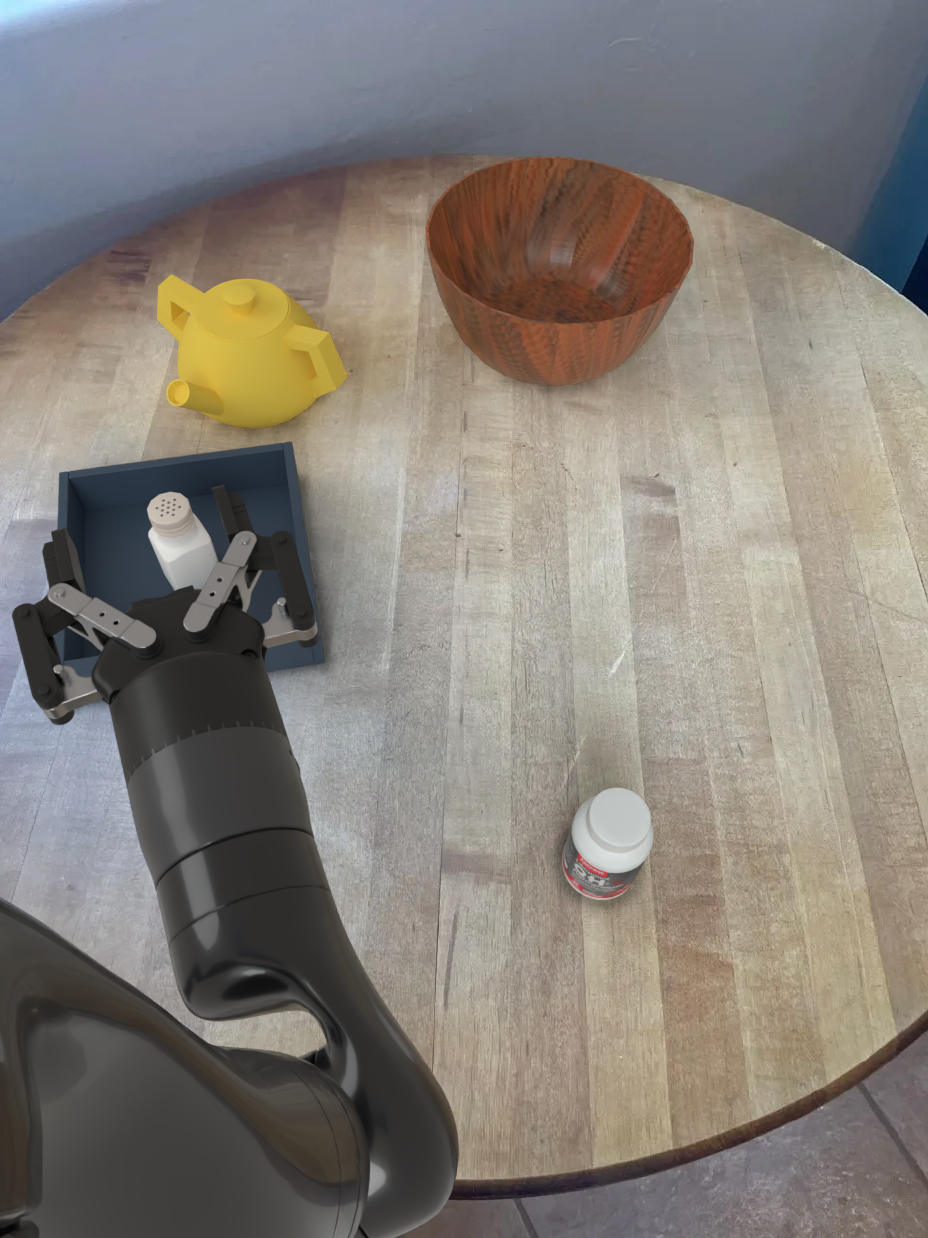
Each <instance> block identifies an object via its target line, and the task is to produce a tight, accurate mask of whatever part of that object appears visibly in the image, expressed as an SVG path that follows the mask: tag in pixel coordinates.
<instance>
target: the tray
mask: <svg viewBox="0 0 928 1238" xmlns="http://www.w3.org/2000/svg"><path fill="white" fill-rule="evenodd" d="M221 485H224V486H225V489H226V491H227V494H228V493H232V492H235V491H236V492H237V493H238V494H239V495H240V496H241V497H242V499H243V501H244V504H245V507H246V510H247V513H248V516H249V519H250V522H251V525H252V528H253V530H254V532H255V533H256V534H258V535H260V536H265V537H271V536H272V535H273V534H274V533H275V532H278V531H287V532H289V533H291V534H292V536H293V539H294V543H295V546H296V550H297V553H298V557H299V560H300V564H301V567H302V571H303V574H304V578H305V581H306V585H307V588H308V592H309V595H310V599H311V602H312V606H313V609H314V614H315V619H316V624H317V629H318V634H319V641H318V642H317V644H316V645H315V646H313V647H310V648H303V647H301V646H299V645H298V644H297V642H296V641H293V642H289V643H285V644H281V645H277V646H273V647H269V648H267V652H266V655H265V667H266V670H267V673H271V672H277V671H284V670H290V669H296V668H297V669H298V668H302V667H308V666H315V665H320V664H325V663H326V658H325V651H324V644H323V637H322V631H321V623H320V616H319V609H318V601H317V596H316V595H317V594H316V587H315V581H314V575H313V567H312V566H313V565H312V561H311V553H310V546H309V539H308V533H307V525H306V517H305V511H304V504H303V497H302V490H301V483H300V476H299V471H298V467H297V461H296V456H295V451H294V445H293V441H285V442H278V443H270V444H264V445H263V444H262V445H255V446H246V447H241V448H239V447H238V448H231V449H225V450H218V451H209V452H202V453H201V452H200V453H195V454H186V455H179V456H170V457H163V458H157V459H150V460H142V461H134V462H126V463H118V464H113V465H105V466H98V467H97V466H95V467H90V468H89V467H88V468H82V469H74V470H69V471H67V470H66V471H60V472H59V473H58V493H57V494H58V495H57V497H58V498H57V524H56V525H57V528H56V530H58V529H61V528H66V530H67V532H68V534H69V536H70V538H71V539H72V541H73V543H74V545H75V548H76V550H77V554H78V558H79V562H80V567H81V571H82V576H83V581H84V585H85V590H86V594H87V596H88V597H90V598H92V599H93V598H94V597H96V598H98V599H100V600H102V601H103V602H105V603H107V604H108V605H110V606H112V607H114V608H115V609H117V610H119V611H120V612H122V613H125V612H126V611H127V610H129V609H130V608H132V604H131V603H133V602H136V601H139V600H143V599H146V598H159V597H164V596H166V595H168V594H170V593H172V592H174V591H175V590H174V589H173V587H172V586H171V584H170V583H169V581H168V579H167V578H166V576H165V575H164V572H163V570H162V568H161V565H160V563H159V560H158V558H157V556H156V553H155V551H154V549H153V546H152V544H151V542H150V539H149V537H148V533H149V531H150V529H151V528H152V527H153V526H152V524H151V522H150V519H149V516H148V512H147V508H148V506H149V504H150V502H151V500H153V499H154V498H155V497H157V496H158V495H159V494H163V493H167V492H175V493H181V494H182V495H183V496H184V497H186V498H187V499H188V501H189V504H190V507H191V509H192V512H193V513H194V514H195V516H196V517H197V518H198V519H199V521H200V522H201V524H202V525H203V527H204V528H205V530H206V531H207V533H208V534H209V536H210V538H211V541H212V544H213V547H214V550H215V553H216V556H217V559H218V561H219V562H221V561H222V560H223V558H224V556H225V554H226V552H227V550H228V548H229V546H230V544H229V541H228V537H227V534H226V531H225V528H224V525H223V522H222V519H221V516H220V513H219V510H218V506H217V503H216V500H215V497H214V494H213V490H212V488H214V487H218V486H221ZM281 597H284V594H283V590H282V587H281V583H280V579H279V575H278V572H277V570H262V572H261V574H260V576H259V578H258V580H257V582H256V584H255V586H254V588H253V591H252V593H251V600H250V604H249V607H248V609H247V611H246V613H248V614H249V615H251V616H253V617H254V618H256V619H257V620H258V621H259V622H260V623H261V624H263V623H265V622H267V621H268V620H269V619H270V618H271V616H272V607H273V605H274V604H275V603H276V602H277V600H278V599H279V598H281ZM54 638H55V642H56V645H57V649H58V653H59V656H60V660H61V664H62V666H64V665H67V666H71V667H72V668H74V670H75V671H76V673H77V674H78V675H79V676H81V677H90V676H91V672H92V669H93V667H94V665H95V663H96V661H97V659H98V657H99V655H100V654H101V652H102V651H101V650H99V649H98V648H97V647H96V646H95V645H94V644H93V643H92V642H91V641H89V640H88V639H86V638H84V637H83V636H81V635H79V634H78V633H76V632H74V631H73V630H71V629H69V628H68V627H67V628H65V629H63V630H62V631H60V632H58V633H57V634H55V635H54Z"/></svg>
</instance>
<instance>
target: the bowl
mask: <svg viewBox="0 0 928 1238" xmlns="http://www.w3.org/2000/svg"><path fill="white" fill-rule="evenodd" d="M424 230H425V238H426V249H427V256H428V259H429V263H430V268H431V272H432V276H433V278H434V282H435V285H436V289H437V292H438V294H439V297H440V300H441V303H442V305H443V307H444V309H445V311H446V314H447V315H448V316H449V319H450V321H451V323H452V325H453V327H454V329H455V330H456V332H457V334H458V336H459V338H460V339H461V341H462V342H463V343H464V345H465V346H466V347H467V348H468V349H469V350H470V351H471V352H472V353H473V354H474V355H475V356H476V357H477V359H479V360H480V361H481V362H482V363H484V365H486V366H488V367H490V368H491V369H493V370H495V371H496V372H498V373H500V374H501V375H504V376H506V377H508V378H512V379H515V380H518V381H520V382H523V383H526V384H533V385H540V386H546V387H547V386H548V387H549V386H550V387H551V386H573V385H576V384H579V383H580V384H581V383H584V382H589V381H592V380H596V379H598V378H600V377H602V376H604V375H606V374H608V373H610V372H612V371H614V370H615V369H618V368H619V367H621V366H622V365H623V364H624V363H625V362H626V361H628V360H629V359H630V358H631V357H632V356H633V355H634V354H636V352H637V351H639V350H640V349H641V348H642V347H643V346H644V345H645V344H646V343H647V341H648V340H649V339H650V338H651V337H652V335H653V334H654V333H655V331H656V330H657V328H658V327H659V326H660V324H661V323H662V322H663V319H664V318H665V316H666V314H667V313H668V311H669V309H670V308H671V306H672V304H673V302H674V300H675V298H676V297H677V294H678V293H679V291H680V289H681V287H682V286H683V283H684V282H685V279H686V278H687V275H688V274H689V272H690V270H691V267H692V266H693V261H694V249H695V240H694V237H693V233H692V231H691V227H690V223H689V221H688V219H687V217H686V216H685V214H683V212H682V211H681V209H680V208H679V207H678V206H677V204H676V203H675V202H674V200H673V199H672V198H670V197H669V196H668V195H667V194H665V193H664V192H663V191H661V190H660V189H659V188H658V187H656V186H655V185H653V184H652V183H651V182H649V181H647V180H646V179H644V178H641V177H640V176H637V175H636V174H634V173H631V172H629V171H627V170H625V169H623V168H620V167H616V166H613V165H609V164H606V163H602V162H599V161H596V160H592V159H587V158H586V159H585V158H577V157H571V156H570V157H569V156H561V155H549V156H523V157H519V158H514V159H510V160H504V161H503V160H502V161H499V162H495V163H492V164H490V165H487V166H484V167H482V168H479V169H477V170H473V171H472V172H469V173H468V174H466V175H465V176H463V177H462V178H460V179H459V180H457V181H456V182H454V183H453V184H451V185H450V186H448V187H447V188H446V189H445V191H443V193H442V194H441V195H440V197H439V198H438V199H437V200H436V202H435V203H434V204H433V205H432V206H431V209H430V213H429V216H428V218H427V221H426V224H425V228H424Z"/></svg>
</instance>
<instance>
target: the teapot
mask: <svg viewBox="0 0 928 1238" xmlns="http://www.w3.org/2000/svg"><path fill="white" fill-rule="evenodd" d="M156 306H157V307H156V308H157V310H156V320H157V321H158V322H159V323H160V324H161V325H162V327H164V328H165V329H166V331H168V333H169V334H170V335H171V336H172V337H173V338H174V339H175V340H176V341H177V342H178V347H177V359H176V360H177V362H176V363H177V364H176V365H177V376H178V378H175V379H173V380H172V381H170V383H169V384H168V385H167V387H166V391H165V396H166V399H167V401H168V402H169V404H170V405H172V406H175V407H177V408H182V409H185V410H186V409H187V410H191V411H196V412H200V413H201V414H203V415H204V416H206V417H208V418H210V419H212V420H214V421H217V422H219V423H221V424H226V425H229V426H232V427H235V428H236V427H237V428H241V429H242V428H243V429H264V428H270V427H274V426H278V425H282V424H284V423H286V422H288V421H290V420H293V419H295V418H296V417H297V416H299V415H300V414H302V413H304V411H305V410H307V409H308V408H310V406H311V405H312V404H313V403H315V401H316V400H317V399H318V398H319V397H321V396H324V395H327V394H329V393H331V392H334V391H336V390H338V388H339V387H340V386H341V385H342V384H343V383H344V382H345V381H346V379H347V378H348V376H349V375H348V373H347V371H346V369H345V366H344V364H343V362H342V361H343V360H342V359H341V357H340V354H339V352H338V349H337V348H336V345H335V343H334V340H333V337H332V336H331V333H330V331H329V332H328V331H325V330H321V329H320V328H319V326H318V325H317V323H316V322H315V320H314V319H313V318H312V317H311V315H310V314H309V312H308V311H306V309H305V308H304V307H303V306H301V305H300V304H299V303H298V302H297V301H296V300H295V299H294V298H293V297H292V296H291V295H290V294H288V292H286V291H284V290H283V289H281V287H279V286H277V285H275V284H273V283H271V282H268V281H266V280H262V279H257V278H237V279H230V280H227V281H224V282H221V283H219V284H217V285H215V286H213V287H211V288H210V289H209V290H207V291H206V292H203V291H201V290H200V289H198V288H197V287H195V286H194V285H192V284H190V283H188V282H186V281H184V280H183V279H182V278H179V277H177V276H176V275H174V274H172V273H171V274H170V275H169V276H167V278H165V279H164V280H163V281H162V282H161V283H160V284H159V285H158V286H157V305H156Z"/></svg>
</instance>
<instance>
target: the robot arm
mask: <svg viewBox="0 0 928 1238" xmlns="http://www.w3.org/2000/svg"><path fill="white" fill-rule="evenodd" d="M212 490H213V494H214V497H215V500H216V503H217V506H218V510H219V513H220V516H221V519H222V522H223V525H224V528H225V531H226V534H227V537H228V541H229V544H230V546H229V548H228V550H227V552H226V554H225V556H224V558H223V560H222V561H221V562H219V561H218V562H217V563H216V564H215V566H214V568H213V569H212V571H211V573H210V575H209V577H208V579H207V581H206V583H205V585H204V587H203V589H194V587H193V585H191V586H187V587H184V588H180V589H177V590H175V591H174V592H172V593H170V594H168V595H166V596H164V597H159V598H146V599H143V600H139V601H136V602H133V603H131V604H132V608H130V609H129V610H127V611H126V612H125V613H122V612H120V611H119V610H117V609H115V608H114V607H112V606H110V605H108V604H107V603H105V602H103V601H102V600H100V599H98V598H96V597H94V598H93V599H92V598H90V597H88V596H87V594H86V590H85V585H84V581H83V576H82V571H81V567H80V562H79V558H78V554H77V550H76V548H75V545H74V543H73V541H72V539H71V538H70V536H69V534H68V532H67V530H66V528H61V529H58V530H57V529H54V530H51V531H50V534H51V540H52V541H51V540H50V541H48V542H45V543H44V544H43V547H42V550H41V553H42V554H41V555H42V559H43V564H44V568H45V569H44V570H45V574H46V578H47V579H46V580H47V585H48V591H47V593H46V595H45V596H44V597H43V598H41V600H38V601H37V602H35V603H34V604H33V603H30V602H24V603H21V604H19V605H18V606H16V607H15V608H14V609H13V610H12V613H11V617H12V623H13V626H14V630H15V634H16V638H17V643H18V646H19V650H20V654H21V658H22V662H23V666H24V669H25V670H24V671H25V674H26V677H27V681H28V686H29V689H30V694H31V697H32V699H33V700H34V701H35V703H36V705H38V707H39V708H40V710H41V711H42V712H43V714H44V715H45V716H46V717H47V718H48V720H49V721H50V722H51V723H52V724H53V725H55V726H64V725H66V724H68V723H70V722H71V721H72V720H73V719H74V716H75V710H77V709H80V708H83V707H85V706H89V705H91V704H94V703H96V702H97V703H98V702H99V701H103V702H104V703H106V705H107V706H108V709H109V713H110V717H111V723H112V727H113V732H114V736H115V741H116V744H117V745H116V746H117V749H118V754H119V759H120V763H121V768H122V772H123V778H124V782H125V787H126V791H127V795H128V800H129V805H130V808H131V814H132V818H133V823H134V827H135V831H136V832H135V833H136V836H137V839H138V844H139V848H140V851H141V853H142V857H143V858H144V861H145V864H146V866H147V869H148V871H149V873H150V874H149V875H150V877H151V879H152V882H153V886H154V889H155V892H156V898H157V901H158V906H159V911H160V916H161V920H162V924H163V925H162V926H163V930H164V933H165V937H166V943H167V947H168V951H169V952H168V954H169V957H170V962H171V967H172V972H173V975H174V979H175V983H176V987H177V990H178V993H179V996H180V998H181V1001H182V1002H183V1004H184V1006H185V1008H186V1009H187V1011H189V1013H190V1014H192V1015H193V1016H195V1017H196V1018H198V1019H200V1020H204V1021H208V1022H216V1023H217V1022H219V1023H222V1022H231V1021H232V1022H233V1021H241V1020H246V1019H252V1018H257V1017H262V1016H266V1015H271V1014H278V1013H285V1012H305V1013H308V1014H309V1015H310V1016H311V1017H313V1018H314V1020H315V1021H316V1022H317V1024H318V1026H319V1028H320V1029H321V1031H322V1033H323V1036H324V1039H325V1044H323V1045H322V1046H320V1047H318V1049H314V1050H312V1051H309V1052H306V1053H304V1054H302V1055H300V1056H295V1055H292V1054H288V1053H285V1052H282V1051H277V1050H276V1051H275V1050H270V1049H261V1048H250V1047H249V1048H248V1047H238V1046H225V1045H216V1044H212V1043H209V1042H208V1041H206V1040H205V1039H203V1038H202V1037H201V1036H200V1035H198V1034H197V1033H196V1032H194V1031H193V1030H191V1029H190V1028H189V1027H188V1026H186V1025H185V1024H183V1023H182V1022H181V1021H179V1019H177V1018H176V1017H175V1016H173V1014H172V1013H170V1012H169V1011H168V1010H167V1009H165V1008H164V1007H162V1005H160V1004H158V1003H157V1002H156V1001H154V1000H153V999H152V998H151V997H149V996H148V995H146V994H145V993H144V992H143V991H142V990H140V989H139V988H137V986H135V985H133V984H131V983H130V982H128V981H127V980H125V979H124V978H122V977H120V976H119V975H117V974H116V973H114V972H113V971H111V970H110V969H108V968H107V967H106V966H105V965H103V964H101V963H100V962H99V961H97V960H96V959H94V958H93V957H92V956H91V955H89V954H88V953H87V952H85V951H84V950H82V949H81V948H79V947H78V946H77V945H75V944H73V942H71V941H69V940H68V939H66V938H65V937H64V936H62V935H61V934H59V933H58V932H57V931H55V930H54V929H52V928H51V927H50V926H48V925H47V924H45V923H44V922H42V920H40V919H38V918H36V917H35V916H33V915H31V914H29V913H28V912H26V910H23V909H22V908H21V907H18V906H17V905H15V904H14V903H12V902H10V901H8V900H6V899H5V898H4V897H1V896H0V1238H397V1237H399V1236H400V1237H401V1236H402V1235H404V1234H406V1233H408V1232H409V1233H410V1231H413V1230H415V1229H417V1228H419V1227H420V1226H422V1225H424V1224H426V1223H428V1222H429V1221H430V1220H431V1219H433V1218H434V1217H436V1216H437V1215H438V1214H439V1213H440V1212H441V1211H442V1210H443V1209H444V1207H445V1206H446V1204H447V1202H448V1201H449V1199H450V1197H451V1195H452V1192H453V1190H454V1186H455V1183H456V1179H457V1176H458V1167H459V1158H460V1143H459V1133H458V1127H457V1123H456V1118H455V1115H454V1112H453V1109H452V1106H451V1104H450V1101H449V1100H448V1098H447V1095H446V1093H445V1091H444V1090H443V1088H442V1086H441V1084H440V1082H439V1081H438V1080H437V1078H436V1076H435V1075H434V1072H433V1071H432V1069H431V1068H430V1066H429V1065H428V1062H426V1061H425V1058H423V1056H422V1055H421V1053H420V1052H419V1050H418V1049H417V1047H416V1046H415V1045H414V1043H413V1041H412V1040H411V1039H410V1037H409V1036H408V1034H407V1033H406V1032H405V1030H404V1029H403V1028H402V1026H401V1025H400V1023H399V1022H398V1021H397V1019H396V1018H395V1016H394V1015H393V1014H392V1012H391V1010H390V1009H389V1006H387V1004H386V1002H385V1001H384V1000H383V998H382V996H381V995H380V993H379V992H378V990H377V989H376V986H375V984H374V983H373V982H372V980H371V978H370V976H369V974H368V973H367V971H366V969H365V967H364V966H363V964H362V962H361V960H360V958H359V956H358V954H357V952H356V951H355V948H354V946H353V944H352V942H351V940H350V937H349V935H348V933H347V931H346V929H345V926H344V924H343V921H342V919H341V916H340V913H339V909H338V908H337V907H338V906H337V905H336V901H335V898H334V896H333V892H332V889H331V886H330V883H329V879H328V877H327V873H326V870H325V867H324V864H323V860H322V858H321V855H320V852H319V848H318V845H317V843H316V839H315V834H314V831H313V826H312V822H311V816H310V807H309V802H308V797H307V793H306V790H305V785H304V782H303V780H302V776H301V774H302V773H301V768H300V765H299V763H298V761H297V759H296V757H295V754H294V751H293V748H292V745H291V742H290V739H289V736H288V732H287V729H286V727H285V723H284V719H283V717H282V714H281V711H280V708H279V705H278V701H277V698H276V695H275V692H274V689H273V686H272V683H271V680H270V677H269V674H268V673H269V672H267V670H266V667H265V655H266V652H267V648H269V647H273V646H277V645H281V644H285V643H289V642H293V641H296V642H297V644H298V645H299V646H301V647H303V648H310V647H313V646H315V645H316V644H317V642H318V641H319V634H318V629H317V624H316V619H315V614H314V609H313V606H312V602H311V599H310V595H309V592H308V588H307V585H306V581H305V578H304V574H303V571H302V567H301V564H300V560H299V557H298V553H297V550H296V546H295V543H294V539H293V536H292V534H291V533H289V532H287V531H278V532H275V533H274V534H273V535H272V536H271V537H265V536H260V535H258V534H256V533H255V532H254V530H253V528H252V525H251V522H250V519H249V516H248V513H247V510H246V507H245V504H244V501H243V499H242V497H241V496H240V495H239V494H238V493H237V492H236V491H235V492H232V493H228V494H227V491H226V489H225V486H224V485H221V486H218V487H214V488H212ZM262 570H277V572H278V575H279V579H280V583H281V587H282V590H283V594H284V597H281V598H279V599H278V600H277V602H276V603H275V604H274V605H273V607H272V616H271V618H270V619H269V620H268V621H267V622H265V623H263V624H261V623H260V622H259V621H258V620H257V619H256V618H254V617H253V616H251V615H249V614H248V613H246V611H247V609H248V607H249V604H250V600H251V593H252V591H253V588H254V586H255V584H256V582H257V580H258V578H259V576H260V574H261V572H262ZM67 627H68V628H69V629H71V630H73V631H74V632H76V633H78V634H79V635H81V636H83V637H84V638H86V639H88V640H89V641H91V642H92V643H93V644H94V645H95V646H96V647H97V648H98V649H99V650H101V651H102V652H101V654H100V655H99V657H98V659H97V661H96V663H95V665H94V667H93V669H92V672H91V676H90V677H81V676H79V675H78V674H77V673H76V671H75V670H74V668H72V667H71V666H67V665H64V666H62V664H61V660H60V656H59V653H58V649H57V645H56V642H55V638H54V635H55V634H57V633H58V632H60V631H62V630H63V629H65V628H67Z"/></svg>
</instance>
